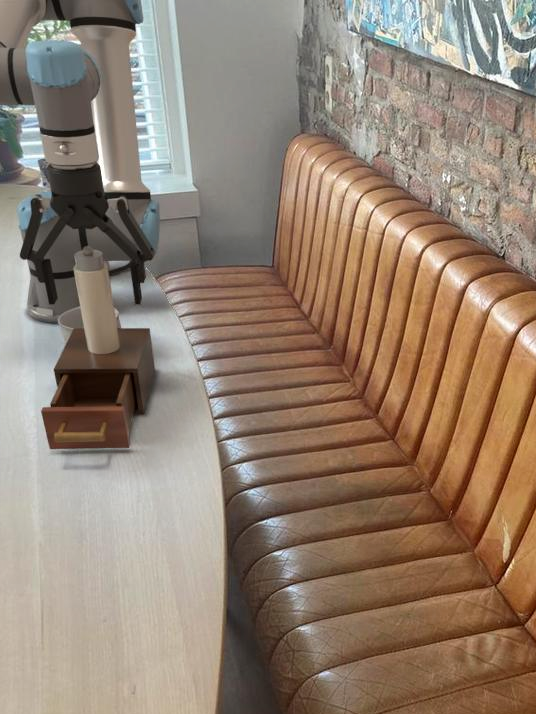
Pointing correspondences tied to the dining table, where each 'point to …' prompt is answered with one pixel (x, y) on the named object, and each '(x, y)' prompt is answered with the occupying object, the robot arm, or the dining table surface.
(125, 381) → the drawer
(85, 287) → the pepper mill
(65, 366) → the cabinet
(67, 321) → the teacup
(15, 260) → the dining table surface
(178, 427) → the dining table surface
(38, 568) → the dining table surface
